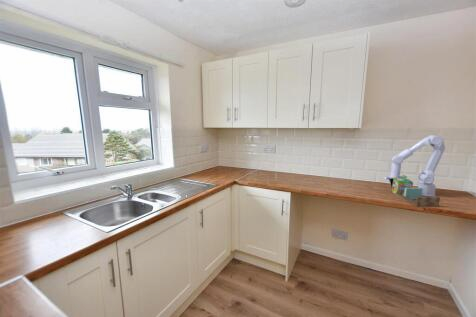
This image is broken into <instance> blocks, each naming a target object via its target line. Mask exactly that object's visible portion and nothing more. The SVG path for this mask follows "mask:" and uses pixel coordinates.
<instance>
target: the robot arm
mask: <svg viewBox="0 0 476 317" xmlns="http://www.w3.org/2000/svg"><path fill="white" fill-rule="evenodd" d="M425 146H431V147H432V149H433V151H432V153H431V155H430V158H429V159H428V162H427V164H426V165H425V168H424V169H423V170H422V171H421V173H420V174H419V175H418V176H417V177H418V180H419V181H418V186H417V188H423V189H422V195H421V196H424V197H437V196H436V189H437V186H436V184H435V183H434V181H435V175H436V174H435V171H436V169H437V166H438V164H439V163H440V160H441V158H442V156H443V154H444V152H445V150H446V146H445V140H444V138H442V136H440V135H433V134H430V135H429V134H428V135H427V136H426V137H423V139H421V140H420V141H418V142H417V143H416V144H414V145H413V146H411V147H410V148H406V149H403V150H402V151H400V152H399V153H397V154H396V155H394V156H392V158H391V168H390V175H388V176H384V180H388V182H389V183H390V187H391V189H392V185H393V179H394V178H402V177H403V176H401V169H402V164H403V162H404V161H405V160H407V159H408V158H410V157H411V156H413V155H414V153H415V152H416V151H418V150H420V149H421V148H423V147H425ZM404 179H405V177H404Z"/></svg>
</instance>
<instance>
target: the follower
mask: <svg viewBox="0 0 476 317" xmlns="http://www.w3.org/2000/svg"><path fill="white" fill-rule="evenodd" d="M422 189H423V188H418V187H412V188H405V191H404V196H405V197H407V198H409V199H412V200H416V199H417V197H421V195H422Z"/></svg>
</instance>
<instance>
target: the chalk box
mask: <svg viewBox="0 0 476 317" xmlns="http://www.w3.org/2000/svg"><path fill="white" fill-rule="evenodd" d="M401 177H402V178H394V179H393V185H392V188H391V193H393V194H394V195H395V193H398V194H400V195H403V196H404V191H405V188H413V184H414V182H413V181H412V180H410V179H408V176H407V175H405V174H403V175H402V176H401ZM404 177H405V179H404Z"/></svg>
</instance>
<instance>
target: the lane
mask: <svg viewBox="0 0 476 317" xmlns="http://www.w3.org/2000/svg"><path fill="white" fill-rule="evenodd" d="M394 197H396V198H398V199H400V200H403V201H404V200H405V201H404V202H406V201H407V202H406V203H409V204H410V205H412V206H415V207H439V206H440V199H441V197H440V196H421V197H417V199H409V198H407V197H405V196H403V195H400V194H398V193H395V194H394Z"/></svg>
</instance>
